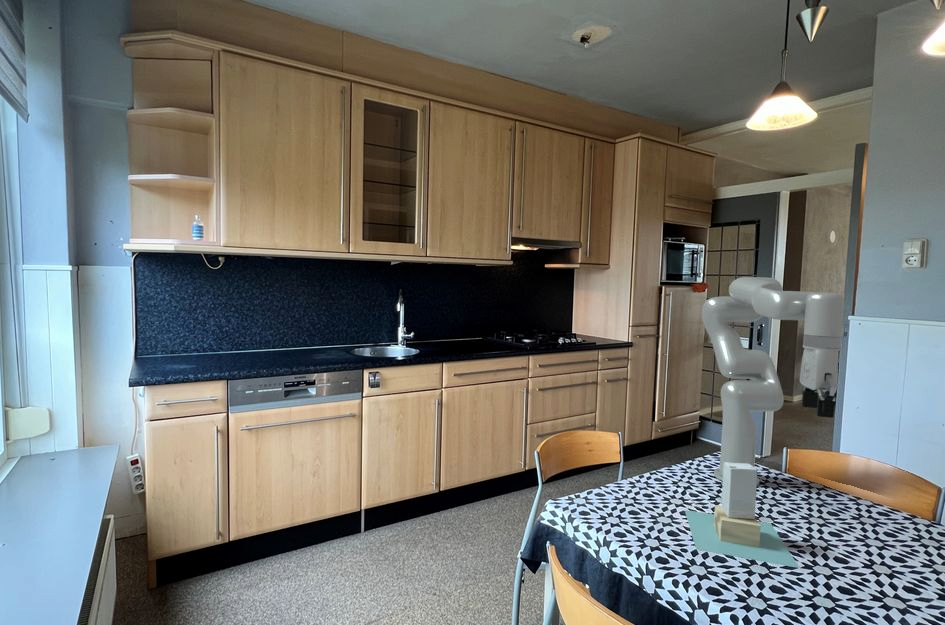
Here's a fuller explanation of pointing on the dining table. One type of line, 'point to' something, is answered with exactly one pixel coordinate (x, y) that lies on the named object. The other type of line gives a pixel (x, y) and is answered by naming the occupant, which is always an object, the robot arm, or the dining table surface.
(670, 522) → the dining table surface
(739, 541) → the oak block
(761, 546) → the base board
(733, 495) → the skincare box
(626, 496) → the dining table surface
